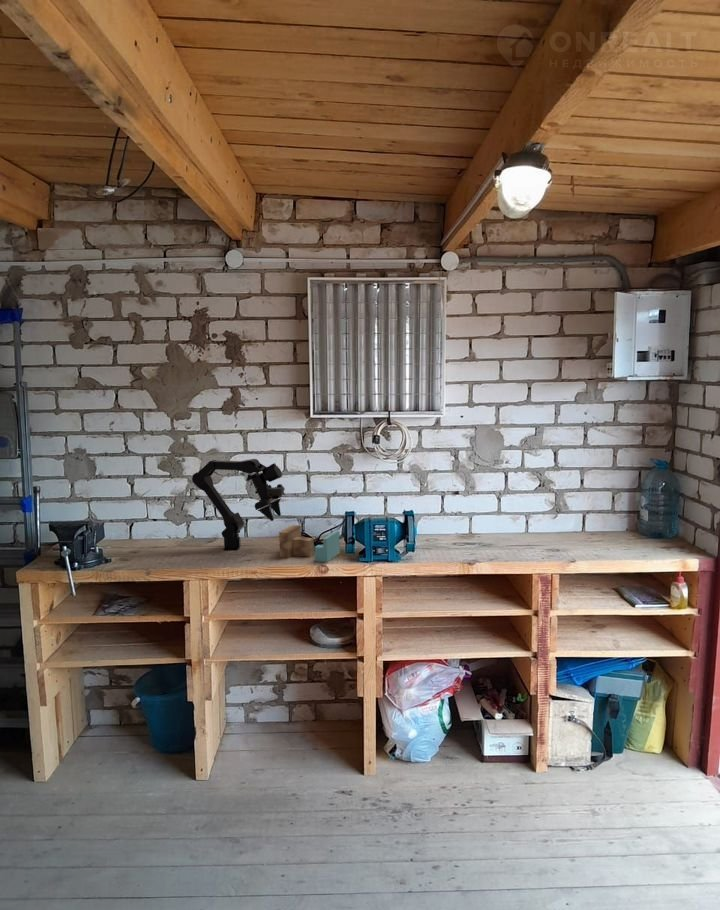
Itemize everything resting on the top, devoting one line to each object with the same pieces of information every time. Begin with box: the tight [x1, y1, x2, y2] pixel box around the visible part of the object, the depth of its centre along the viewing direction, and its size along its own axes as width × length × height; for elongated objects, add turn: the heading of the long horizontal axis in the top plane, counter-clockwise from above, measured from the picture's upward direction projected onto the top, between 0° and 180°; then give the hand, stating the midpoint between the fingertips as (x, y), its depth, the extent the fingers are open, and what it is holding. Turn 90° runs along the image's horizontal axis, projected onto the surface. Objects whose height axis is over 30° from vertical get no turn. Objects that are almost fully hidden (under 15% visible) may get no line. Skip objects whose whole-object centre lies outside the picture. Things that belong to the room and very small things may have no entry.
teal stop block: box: [314, 529, 341, 563], centre depth 269 cm, size 6×14×10 cm, turn 160°
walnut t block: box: [278, 524, 315, 559], centre depth 274 cm, size 12×13×11 cm
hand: (276, 518), depth 279 cm, fingers open, 9 cm apart
